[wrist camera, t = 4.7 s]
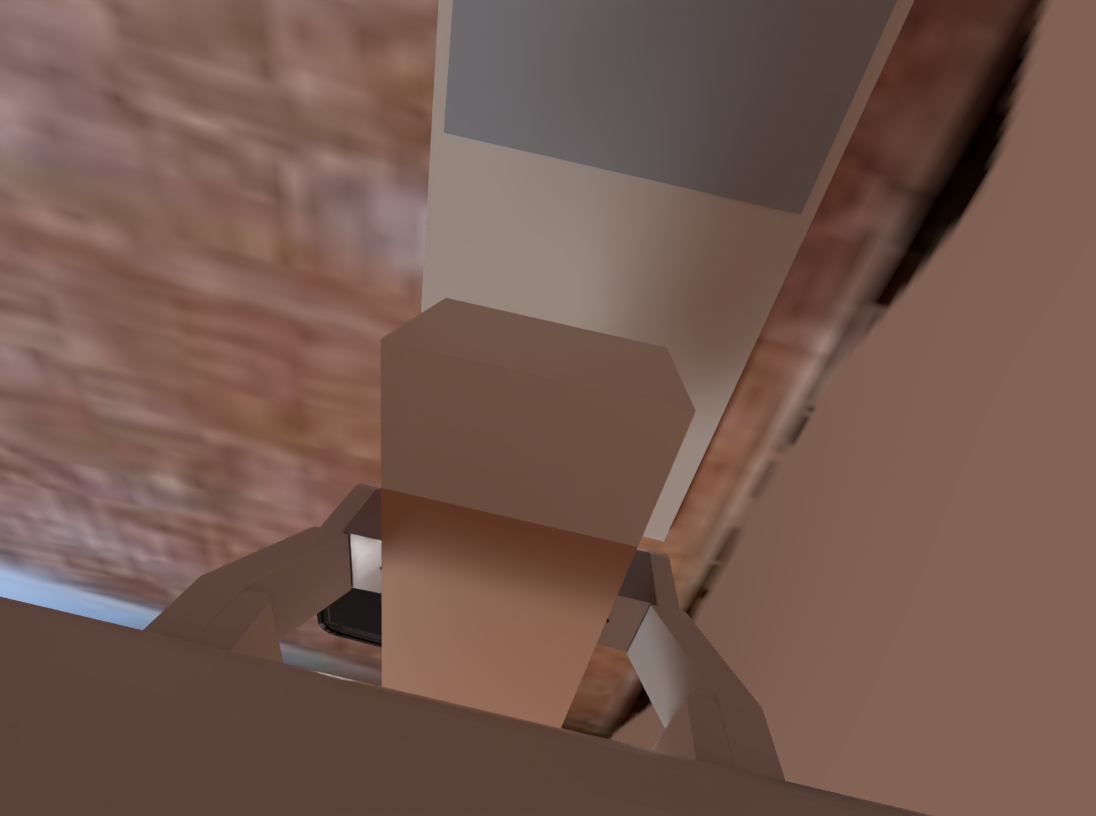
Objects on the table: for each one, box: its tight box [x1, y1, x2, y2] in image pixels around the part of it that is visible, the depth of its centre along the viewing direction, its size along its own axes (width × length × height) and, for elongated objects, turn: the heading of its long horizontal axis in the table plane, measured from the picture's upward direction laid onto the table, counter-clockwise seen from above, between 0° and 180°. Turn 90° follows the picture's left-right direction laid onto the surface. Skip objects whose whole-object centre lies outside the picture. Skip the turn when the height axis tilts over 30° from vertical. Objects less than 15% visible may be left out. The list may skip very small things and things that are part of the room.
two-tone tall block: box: [381, 298, 696, 728], centre depth 10 cm, size 11×5×3 cm, turn 169°
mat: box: [421, 0, 914, 542], centre depth 16 cm, size 14×26×1 cm, turn 168°
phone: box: [317, 587, 382, 647], centre depth 28 cm, size 8×1×15 cm
